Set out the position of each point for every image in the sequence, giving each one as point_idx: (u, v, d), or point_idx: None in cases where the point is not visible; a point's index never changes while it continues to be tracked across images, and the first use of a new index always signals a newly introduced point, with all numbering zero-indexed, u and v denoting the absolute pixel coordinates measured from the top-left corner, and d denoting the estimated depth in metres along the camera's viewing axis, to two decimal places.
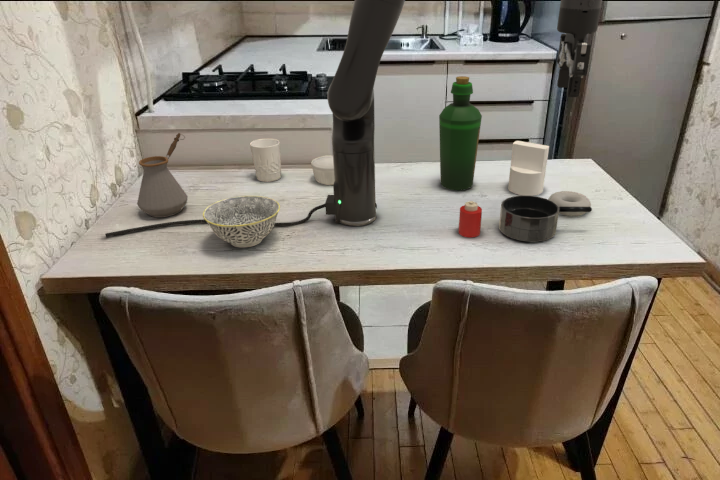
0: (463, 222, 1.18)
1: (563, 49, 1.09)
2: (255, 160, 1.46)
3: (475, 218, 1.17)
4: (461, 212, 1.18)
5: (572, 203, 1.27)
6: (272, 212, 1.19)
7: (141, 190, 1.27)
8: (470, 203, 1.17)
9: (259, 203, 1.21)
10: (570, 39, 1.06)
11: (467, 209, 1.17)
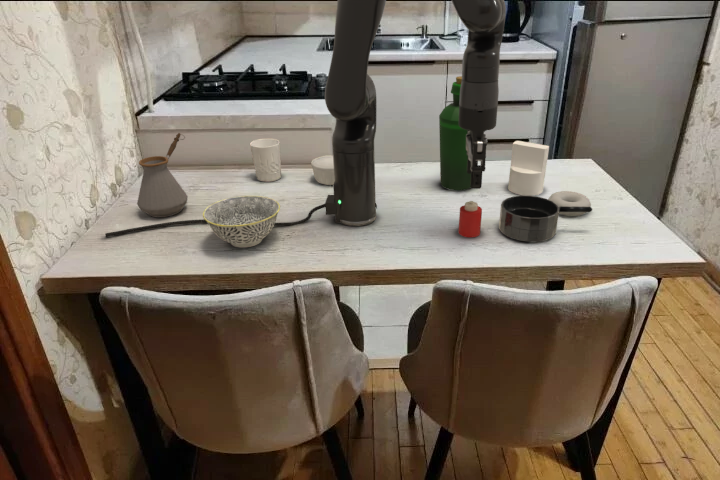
0: (463, 222, 1.18)
1: (467, 141, 1.12)
2: (255, 160, 1.46)
3: (475, 218, 1.17)
4: (461, 212, 1.18)
5: (572, 203, 1.27)
6: (272, 212, 1.19)
7: (141, 190, 1.27)
8: (470, 203, 1.17)
9: (259, 203, 1.21)
10: (471, 133, 1.09)
11: (467, 209, 1.17)
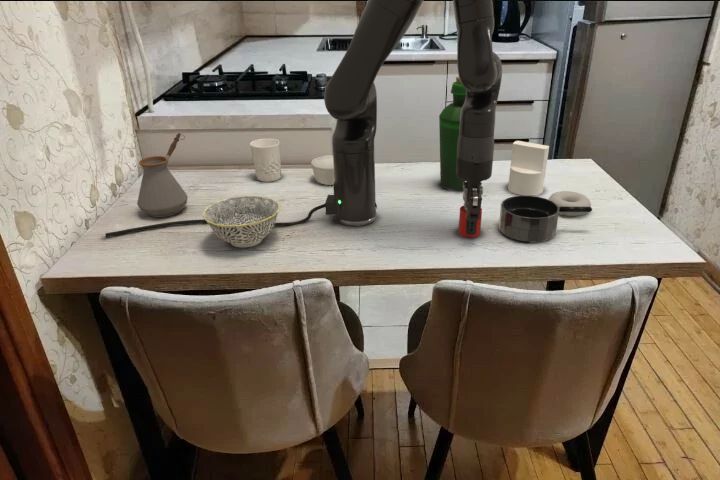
0: (463, 222, 1.18)
1: (464, 189, 1.17)
2: (255, 160, 1.46)
3: None
4: (461, 212, 1.18)
5: (572, 203, 1.27)
6: (272, 212, 1.19)
7: (141, 190, 1.27)
8: None
9: (259, 203, 1.21)
10: (468, 182, 1.15)
11: None
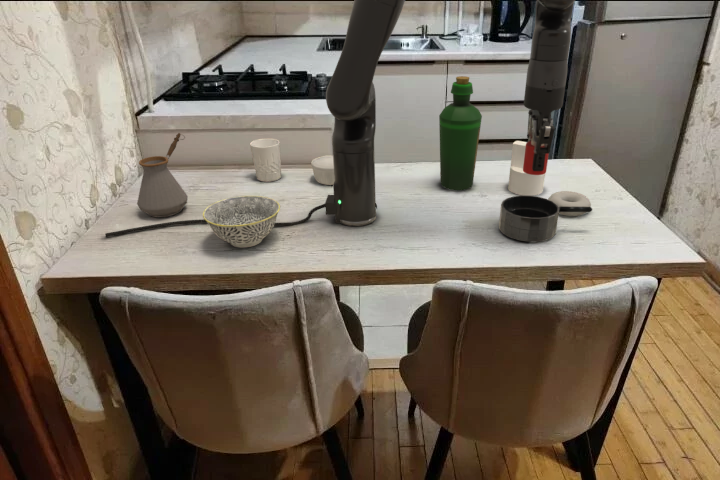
0: (530, 158, 1.11)
1: (531, 122, 1.11)
2: (255, 160, 1.46)
3: None
4: (528, 147, 1.11)
5: (572, 203, 1.27)
6: (272, 212, 1.19)
7: (141, 190, 1.27)
8: (537, 137, 1.11)
9: (259, 203, 1.21)
10: (536, 114, 1.08)
11: None
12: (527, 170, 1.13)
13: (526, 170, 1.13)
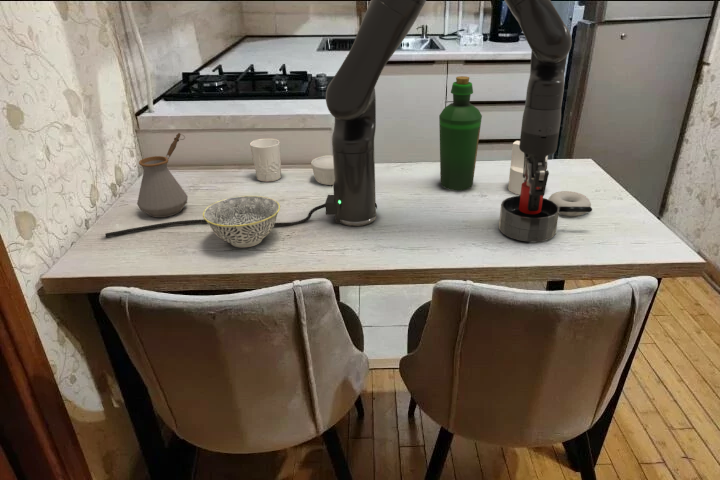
0: (526, 198, 1.16)
1: (526, 164, 1.15)
2: (255, 160, 1.46)
3: None
4: (523, 188, 1.16)
5: (572, 203, 1.27)
6: (272, 212, 1.19)
7: (141, 190, 1.27)
8: (533, 179, 1.15)
9: (259, 203, 1.21)
10: (531, 157, 1.13)
11: None
12: (523, 209, 1.18)
13: (522, 209, 1.18)
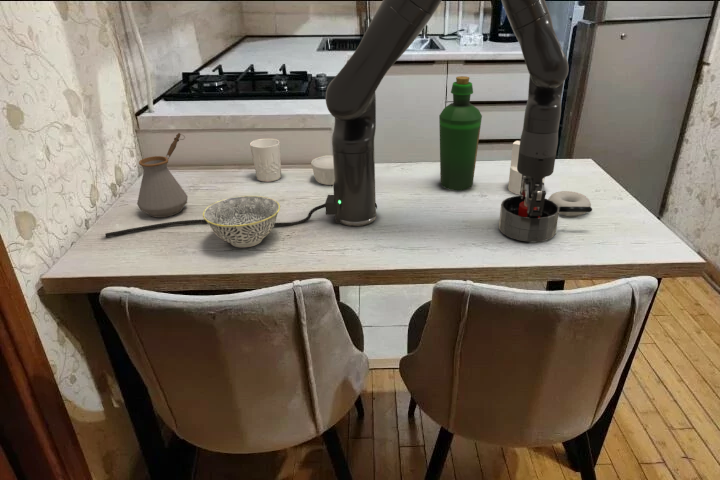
0: None
1: (523, 185, 1.17)
2: (255, 160, 1.46)
3: None
4: (521, 208, 1.18)
5: (572, 203, 1.27)
6: (272, 212, 1.19)
7: (141, 190, 1.27)
8: (530, 199, 1.18)
9: (259, 203, 1.21)
10: (529, 178, 1.15)
11: None
12: None
13: None
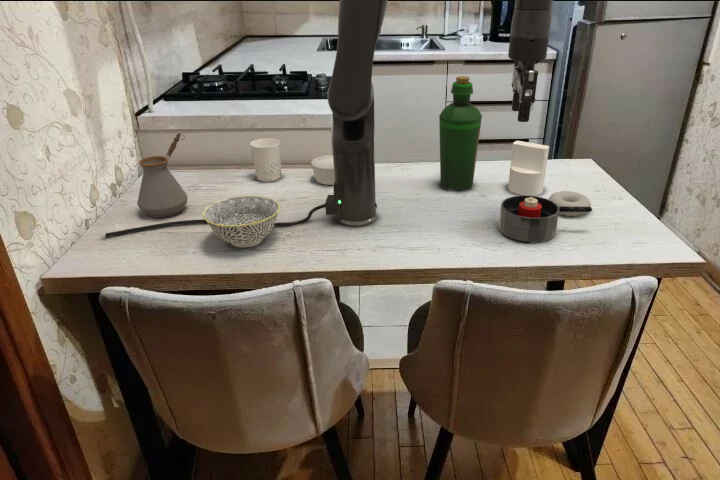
0: None
1: (515, 75, 1.12)
2: (255, 160, 1.46)
3: (535, 214, 1.17)
4: (521, 208, 1.18)
5: (572, 203, 1.27)
6: (272, 212, 1.19)
7: (141, 190, 1.27)
8: (530, 199, 1.18)
9: (259, 203, 1.21)
10: (520, 66, 1.09)
11: (527, 205, 1.18)
12: None
13: None
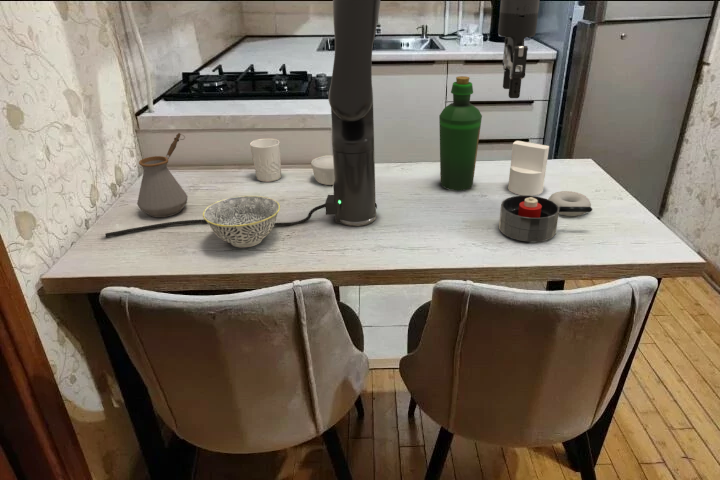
0: None
1: (505, 52, 1.13)
2: (255, 160, 1.46)
3: (535, 214, 1.17)
4: (521, 208, 1.18)
5: (572, 203, 1.27)
6: (272, 212, 1.19)
7: (141, 190, 1.27)
8: (530, 199, 1.18)
9: (259, 203, 1.21)
10: (510, 42, 1.11)
11: (527, 205, 1.18)
12: None
13: None
